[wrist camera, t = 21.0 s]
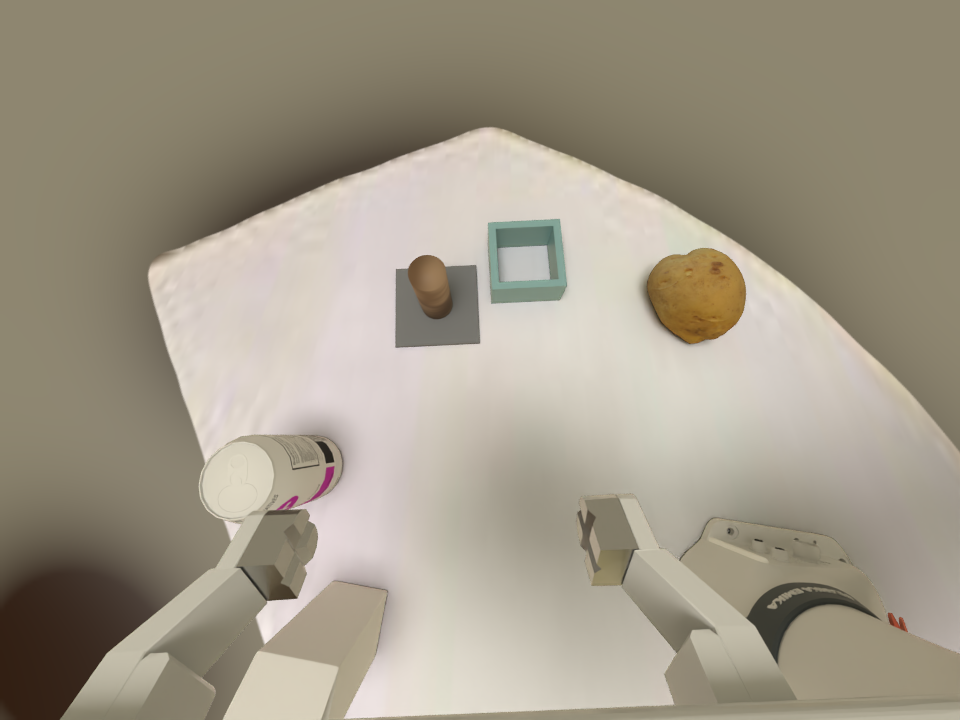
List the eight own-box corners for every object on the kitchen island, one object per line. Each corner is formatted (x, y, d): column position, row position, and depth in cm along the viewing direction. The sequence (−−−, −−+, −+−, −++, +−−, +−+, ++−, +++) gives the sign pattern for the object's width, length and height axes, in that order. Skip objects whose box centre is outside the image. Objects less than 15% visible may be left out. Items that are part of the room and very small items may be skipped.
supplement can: (346, 494, 46) (281, 520, 32) (283, 502, 46) (189, 533, 32) (343, 432, 48) (280, 429, 33) (283, 440, 48) (193, 441, 33)
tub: (553, 238, 54) (559, 219, 49) (559, 300, 52) (566, 285, 47) (488, 242, 54) (488, 222, 49) (491, 303, 52) (491, 289, 47)
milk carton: (333, 579, 44) (222, 683, 26) (388, 589, 44) (316, 702, 25) (319, 644, 43) (190, 803, 24) (376, 655, 42) (290, 825, 24)
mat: (476, 266, 53) (475, 265, 52) (479, 343, 50) (479, 342, 50) (396, 270, 53) (396, 269, 53) (396, 347, 50) (395, 346, 50)
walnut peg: (452, 290, 52) (445, 254, 42) (452, 319, 51) (445, 289, 41) (422, 290, 52) (408, 255, 42) (421, 319, 51) (407, 290, 41)
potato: (673, 360, 49) (719, 341, 40) (623, 287, 52) (655, 253, 42) (732, 327, 50) (791, 301, 40) (681, 257, 53) (725, 216, 43)
